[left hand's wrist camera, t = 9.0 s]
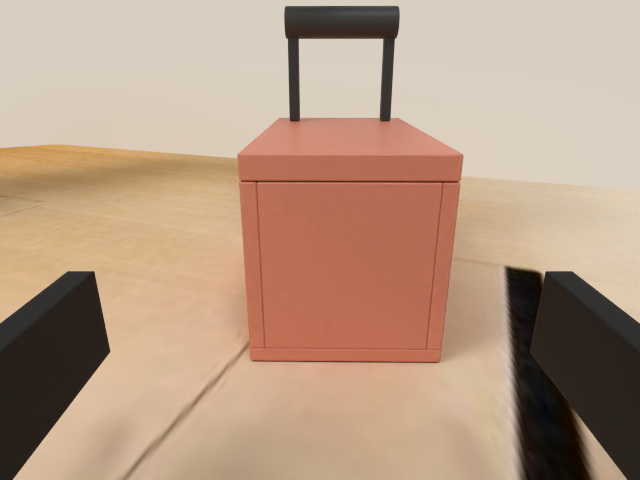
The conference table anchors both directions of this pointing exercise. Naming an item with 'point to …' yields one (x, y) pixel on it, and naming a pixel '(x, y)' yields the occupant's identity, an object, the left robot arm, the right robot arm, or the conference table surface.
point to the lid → (345, 133)
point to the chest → (347, 268)
